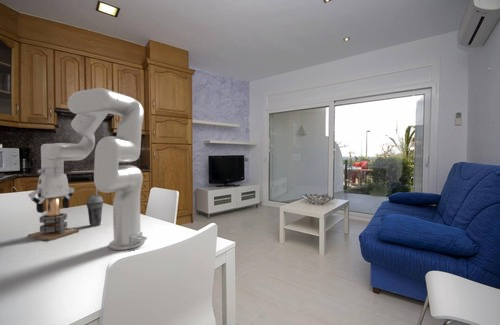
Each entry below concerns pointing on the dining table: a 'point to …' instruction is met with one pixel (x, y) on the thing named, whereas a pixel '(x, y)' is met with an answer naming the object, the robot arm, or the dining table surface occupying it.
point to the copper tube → (53, 211)
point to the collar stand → (53, 228)
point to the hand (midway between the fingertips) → (53, 209)
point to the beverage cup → (95, 209)
